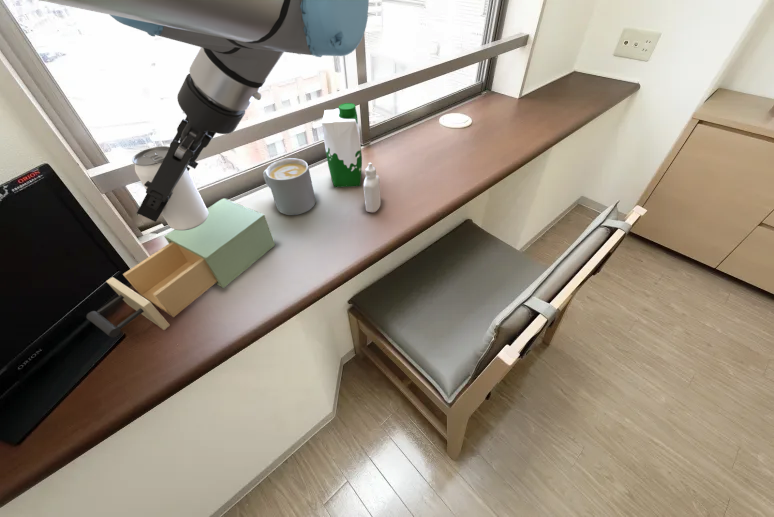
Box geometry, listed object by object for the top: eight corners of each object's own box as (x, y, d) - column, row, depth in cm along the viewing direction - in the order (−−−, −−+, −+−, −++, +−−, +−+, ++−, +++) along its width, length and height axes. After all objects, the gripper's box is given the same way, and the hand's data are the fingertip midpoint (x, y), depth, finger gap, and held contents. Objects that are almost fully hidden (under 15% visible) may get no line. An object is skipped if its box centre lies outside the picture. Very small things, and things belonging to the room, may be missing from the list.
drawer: (132, 356, 56) (107, 333, 52) (96, 327, 61) (70, 304, 56) (225, 280, 68) (211, 256, 63) (189, 260, 72) (173, 236, 67)
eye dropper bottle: (359, 207, 85) (354, 164, 76) (375, 198, 88) (372, 155, 79) (371, 215, 83) (367, 171, 74) (387, 205, 85) (385, 161, 77)
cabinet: (223, 288, 67) (205, 258, 61) (183, 266, 72) (163, 236, 66) (275, 244, 76) (264, 214, 70) (237, 227, 81) (223, 197, 75)
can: (196, 204, 61) (163, 140, 53) (217, 216, 58) (185, 151, 50) (161, 222, 58) (120, 158, 49) (182, 236, 55) (141, 171, 46)
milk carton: (363, 188, 91) (356, 113, 77) (330, 189, 91) (316, 114, 77) (364, 171, 97) (357, 98, 83) (332, 172, 97) (320, 100, 83)
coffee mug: (323, 201, 88) (316, 166, 80) (293, 220, 82) (283, 184, 75) (291, 183, 94) (281, 150, 87) (261, 200, 89) (248, 166, 82)
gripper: (225, 144, 39) (156, 254, 50) (261, 87, 53) (200, 183, 64) (155, 99, 35) (97, 229, 47) (214, 50, 49) (158, 159, 60)
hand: (157, 202), depth 55 cm, fingers closed on can, 6 cm apart
